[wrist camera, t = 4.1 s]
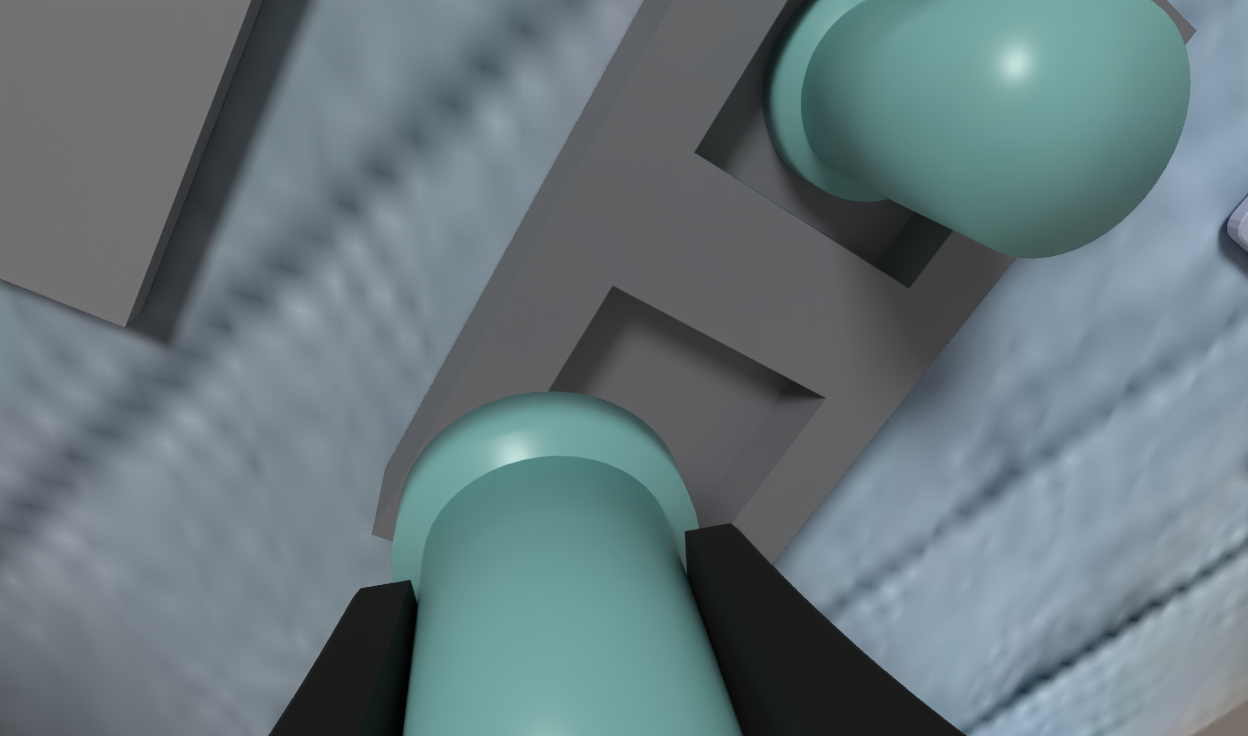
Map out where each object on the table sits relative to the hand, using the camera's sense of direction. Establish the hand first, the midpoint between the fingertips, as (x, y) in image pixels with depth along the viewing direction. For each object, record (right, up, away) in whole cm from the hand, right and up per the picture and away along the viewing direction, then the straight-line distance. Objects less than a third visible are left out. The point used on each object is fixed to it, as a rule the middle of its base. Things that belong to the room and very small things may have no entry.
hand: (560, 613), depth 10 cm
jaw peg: (0, +1, +1) cm, 2 cm away
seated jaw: (+5, +9, +6) cm, 12 cm away
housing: (+3, +6, +8) cm, 10 cm away
